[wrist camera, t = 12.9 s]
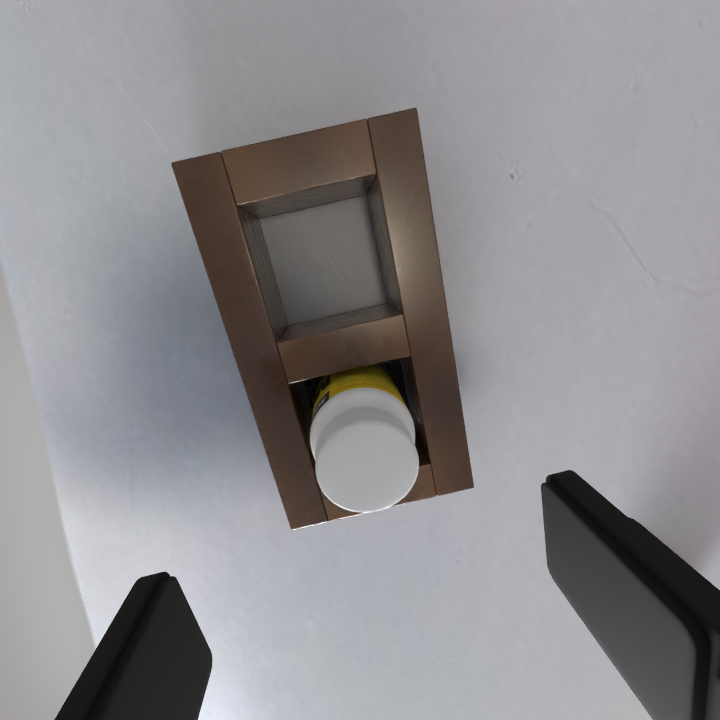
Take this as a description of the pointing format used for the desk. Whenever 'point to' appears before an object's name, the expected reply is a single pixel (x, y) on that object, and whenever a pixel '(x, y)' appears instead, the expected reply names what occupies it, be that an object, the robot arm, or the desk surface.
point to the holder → (340, 332)
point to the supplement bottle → (363, 439)
